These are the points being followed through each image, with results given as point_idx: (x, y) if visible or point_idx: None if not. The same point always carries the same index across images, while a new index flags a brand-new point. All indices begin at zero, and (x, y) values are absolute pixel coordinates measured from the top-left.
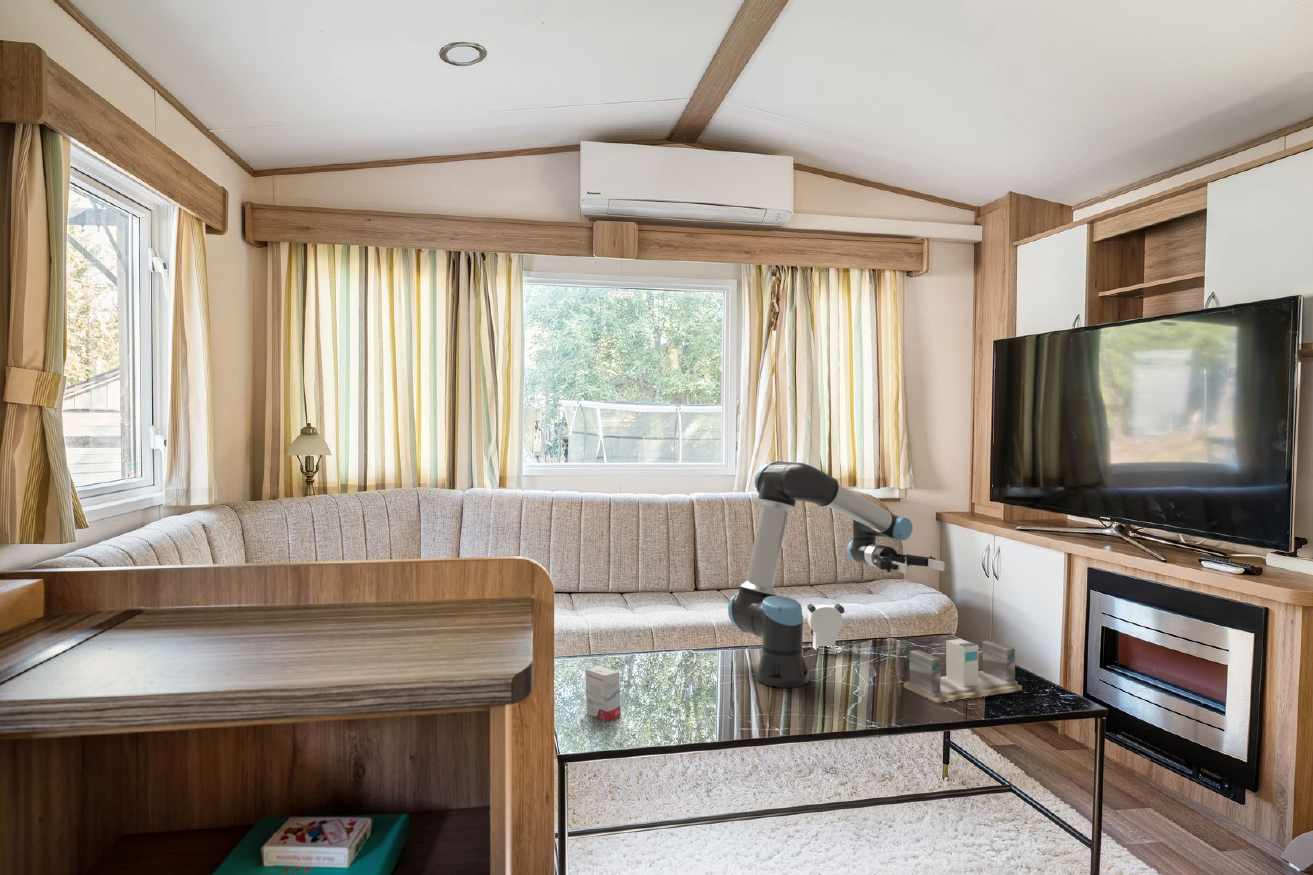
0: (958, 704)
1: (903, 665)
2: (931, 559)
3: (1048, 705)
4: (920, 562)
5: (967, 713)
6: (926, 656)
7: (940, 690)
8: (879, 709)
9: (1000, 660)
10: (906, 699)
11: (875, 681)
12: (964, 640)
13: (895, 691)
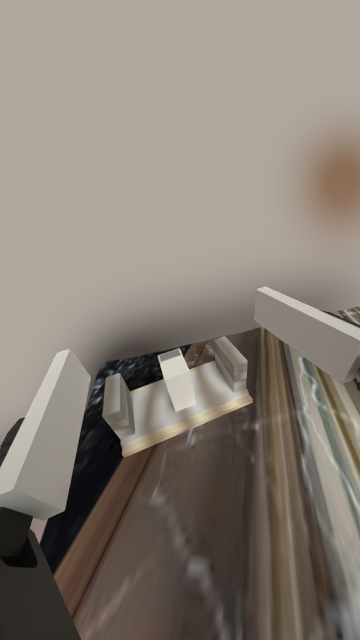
0: (203, 360)
1: (248, 543)
2: (28, 441)
3: (130, 364)
4: (49, 635)
5: (202, 346)
6: (227, 345)
7: (214, 368)
8: (276, 346)
9: (125, 391)
10: (250, 367)
11: (295, 424)
12: (163, 372)
13: (262, 387)
